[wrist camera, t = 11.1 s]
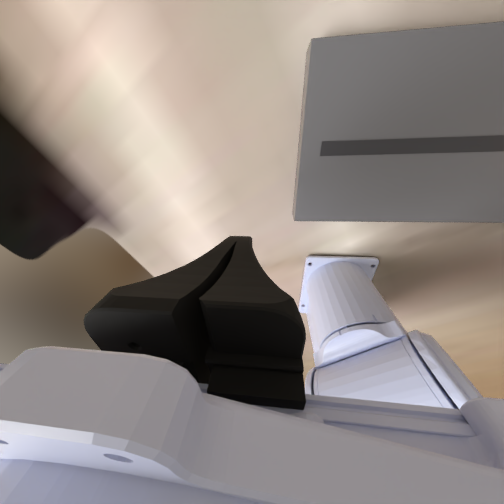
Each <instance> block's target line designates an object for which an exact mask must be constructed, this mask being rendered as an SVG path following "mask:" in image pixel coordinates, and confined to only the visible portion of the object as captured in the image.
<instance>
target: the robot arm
mask: <svg viewBox="0 0 504 504" xmlns="http://www.w3.org/2000/svg"><path fill="white" fill-rule="evenodd" d="M308 263H311V264H308ZM373 264H374V265H373ZM378 264H379V260H378V259H377V258H375V257H342V256H308V257H307V258H306V262H305V269H304V276H303V283H302V289H301V296H300V303H299V310H298V308H297V305H296V303H295V301H294V299H293V298H292V297H291V296H290V295H288V294H287V293H286V292H284V291H283V290H281V289H280V288H279V287H278V286H277V285H276V284H275V283H274V282H273V281H272V280H271V279H270V278H269V277H268V276H267V274H266V273H265V272H264V270H263V269H262V267H261V266H260V264H259V262H258V260H257V258H256V256H255V254H254V251H253V248H252V238H251V237H248V236H230V237H228V238H227V239H225V240H224V241H223V242H221V243H220V244H219V245H217V246H216V247H214V248H213V249H212V250H210V251H209V252H207V253H206V254H204V255H203V256H201V257H199V258H198V259H196V260H194V261H192V262H190V263H189V264H187V265H185V266H182V267H180V268H178V269H175V270H173V271H171V272H168V273H166V274H163V275H160V276H157V277H154V278H151V279H148V280H145V281H141V282H138V283H134V284H130V285H126V286H122V287H118V288H113V289H112V290H111V291H110V292H109V293H108V294H107V295H106V296H105V297H104V298H103V299H101V301H99V302H98V303H97V304H96V305H95V306H94V307H93V308H92V309H91V310H90V311H89V312H88V313H87V314H86V315H85V318H84V325H85V329H86V331H87V332H88V334H89V335H90V337H91V338H92V339H93V341H94V342H95V343H96V344H97V345H98V347H99V348H100V349H101V351H100V350H89V349H77V348H65V347H53V346H47V347H39V348H32V349H27V350H25V351H24V352H23V353H22V354H20V355H19V356H18V357H17V358H16V359H14V360H13V361H12V362H11V363H10V364H2V363H0V504H504V399H498V398H483V396H482V395H481V394H480V393H479V391H478V390H477V389H476V388H475V387H474V385H473V384H472V383H471V382H470V380H469V379H468V378H467V377H466V376H465V374H464V373H463V372H462V371H461V370H460V368H459V367H458V366H457V365H456V364H455V362H454V361H453V360H452V359H451V358H450V356H449V355H448V354H447V353H446V352H445V351H444V349H443V348H442V347H441V346H440V345H439V344H438V342H437V341H436V340H435V339H434V338H433V337H432V336H431V335H428V334H425V333H421V332H420V331H418V330H413V331H411V332H409V333H407V331H406V330H405V329H404V328H403V326H402V325H401V323H400V322H399V320H398V319H397V318H396V316H395V315H394V313H393V312H392V310H391V309H390V307H389V306H388V305H387V303H386V302H385V300H384V299H383V297H382V296H381V294H380V293H379V291H378V290H377V289H376V287H375V286H374V284H373V283H372V279H373V276H374V274H375V271H376V269H377V266H378ZM371 265H373V266H371ZM303 304H304V305H303ZM300 312H301V313H306V314H307V319H308V324H309V330H310V335H311V340H312V346H313V350H314V354H313V356H314V361H315V367H313V368H311V369H310V370H309V372H308V373H307V376H306V381H305V388H304V380H303V371H304V370H303V360H302V355H303V350H304V345H305V340H306V333H305V327H304V324H303V321H302V318H301V315H300Z"/></svg>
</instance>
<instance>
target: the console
mask: <svg viewBox="0 0 504 504" xmlns="http://www.w3.org/2000/svg"><path fill="white" fill-rule="evenodd" d="M293 218H294V221H361V222H487V223H504V22H493V23H482V24H470V25H459V26H448V27H437V28H425V29H414V30H403V31H392V32H381V33H369V34H358V35H347V36H336V37H324V38H313V39H311V42H310V44H309V47H308V50H307V55H306V66H305V77H304V89H303V100H302V112H301V123H300V134H299V146H298V157H297V169H296V180H295V191H294V203H293Z"/></svg>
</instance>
